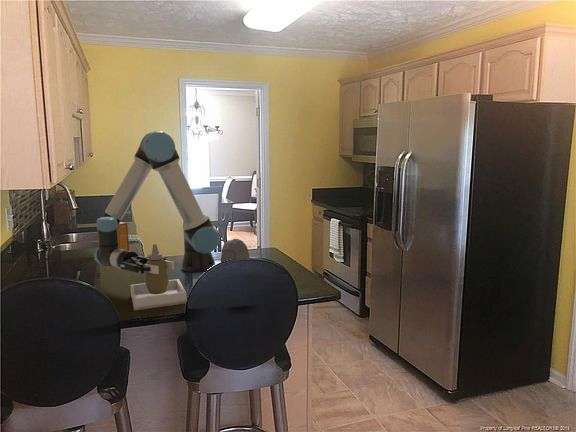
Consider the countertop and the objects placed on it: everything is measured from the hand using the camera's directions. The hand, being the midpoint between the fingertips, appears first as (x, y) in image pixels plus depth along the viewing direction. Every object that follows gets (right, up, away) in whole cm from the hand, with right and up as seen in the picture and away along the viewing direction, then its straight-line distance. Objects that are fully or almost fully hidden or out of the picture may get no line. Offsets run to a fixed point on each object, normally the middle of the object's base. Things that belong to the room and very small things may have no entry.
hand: (165, 267), depth 165 cm
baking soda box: (-47, -1, +83) cm, 95 cm away
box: (-4, -12, +5) cm, 13 cm away
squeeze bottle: (-4, -10, +4) cm, 11 cm away
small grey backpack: (+24, -10, +15) cm, 30 cm away
